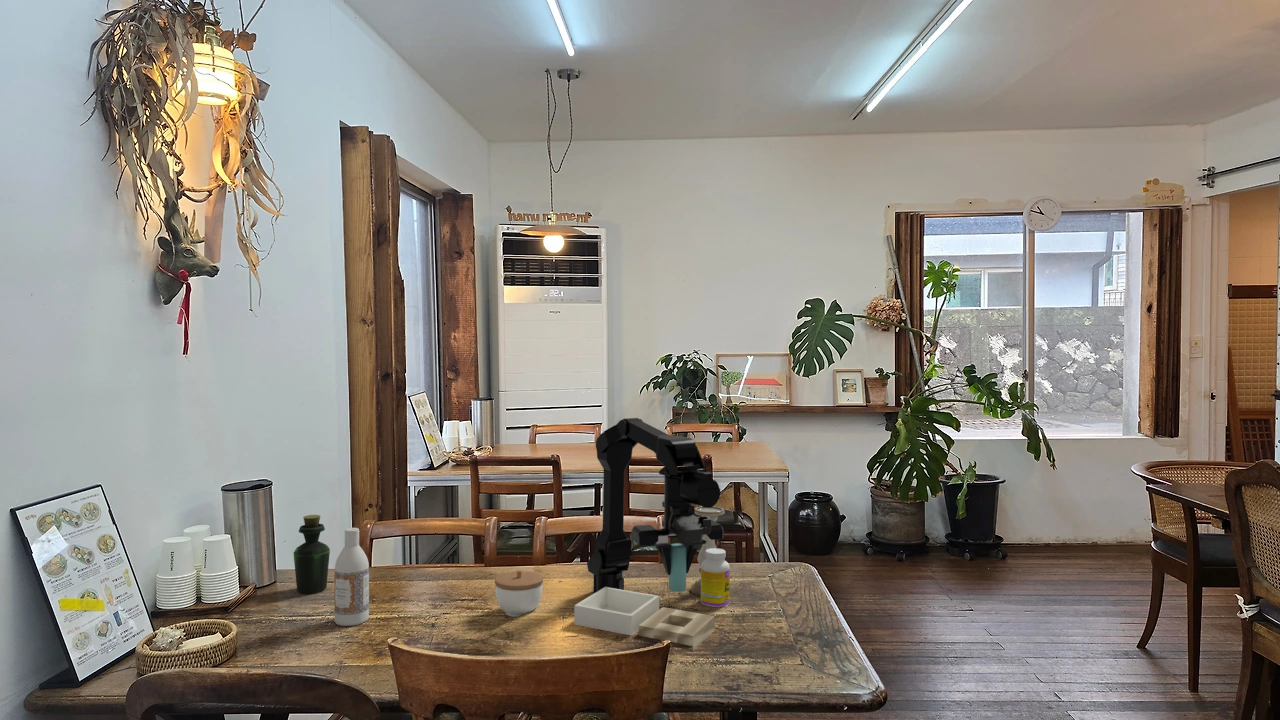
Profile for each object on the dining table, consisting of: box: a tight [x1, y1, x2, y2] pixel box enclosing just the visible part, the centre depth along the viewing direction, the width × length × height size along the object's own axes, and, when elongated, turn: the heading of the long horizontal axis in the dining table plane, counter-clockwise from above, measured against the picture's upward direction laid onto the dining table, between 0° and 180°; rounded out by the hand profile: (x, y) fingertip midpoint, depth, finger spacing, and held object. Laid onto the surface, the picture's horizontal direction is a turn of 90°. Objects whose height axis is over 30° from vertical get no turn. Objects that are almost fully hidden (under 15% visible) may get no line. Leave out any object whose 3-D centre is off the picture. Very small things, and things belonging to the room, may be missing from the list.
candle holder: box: [690, 505, 726, 597], centre depth 181 cm, size 9×9×20 cm
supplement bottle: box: [700, 547, 731, 608], centre depth 171 cm, size 7×7×13 cm
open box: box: [573, 587, 660, 637], centre depth 160 cm, size 14×14×5 cm
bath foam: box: [333, 527, 370, 627], centre depth 160 cm, size 7×7×20 cm
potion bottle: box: [292, 514, 331, 595], centre depth 180 cm, size 8×8×18 cm
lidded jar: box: [494, 569, 544, 618], centre depth 166 cm, size 11×11×9 cm
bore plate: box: [638, 607, 715, 652], centre depth 153 cm, size 12×12×3 cm
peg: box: [668, 543, 687, 593], centre depth 153 cm, size 4×4×9 cm
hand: (677, 573), depth 153 cm, fingers closed on peg, 4 cm apart
